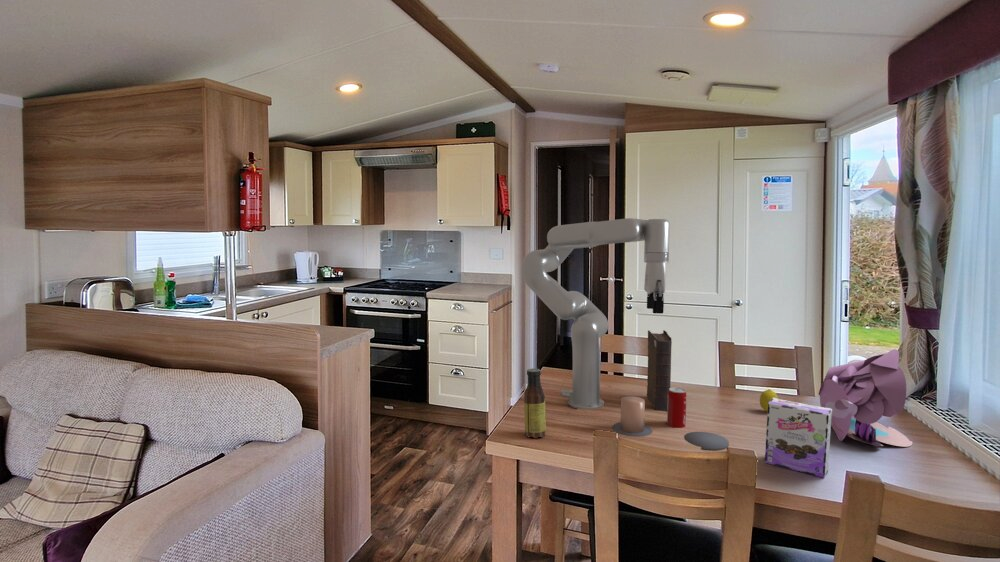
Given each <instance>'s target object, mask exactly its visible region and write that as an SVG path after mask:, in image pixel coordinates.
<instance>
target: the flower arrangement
mask: <svg viewBox="0 0 1000 562" xmlns="http://www.w3.org/2000/svg"><path fill="white" fill-rule="evenodd" d="M899 361H900V352H899V350H897V349H891V350H889V351H888V352H885V353H881V354H877V355H873V356H871V357H868V358H866V359H864V360H859V361H855V362H850V363H846V364H841V365H837V366H832V367H829V368H828V371H827V372H826V375H825V377H824V379H823V382H822V384H821V385H820V387H819V390H818V396H819V405H820V407H824V408H831V409H832V417H831V427H832V429H833V431H834V433H835V434H836V436H837V438H838V440H839V442H843V440H844V439H845V438H846V436H847V437H849V438H852V439H853V440H856V441H859V442H861V443H864V444H867V445H871V446H873V447H877V448H878V447H880V446H881V447H884V445H883V444H887V445H891V446H894V447H895V446H896V447H904V448H908V447H911V446H912V445H913V441H911V440H910V439H909V438H908V437H907V436H906V435H905V434H903V433H901V432H900V431H899V430H897V429H895V428H893V427H891V426H888V427H886V426H885V425H883V424H882V423H879V420H880V419H882V417H885V418H887V417H888V418H891V417H893V416H894V415H895V414H896V413H897V414H898V415H899V416H900V415H901V414H902V412H903V410H904V409H905V404H906V399H907V380H906V375H905V372H904V371H903V370H902V368H901V367H900V366H899ZM881 443H883V444H881Z"/></svg>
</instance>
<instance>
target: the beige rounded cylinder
mask: <svg viewBox="0 0 1000 562" xmlns="http://www.w3.org/2000/svg"><path fill="white" fill-rule="evenodd" d="M645 407H646V401H645V399H644V398H642V397H638V396H631V395H630V396H629V395H628V396H623V397H621V398H620V422H621V424H620V428H621V430H623V431H625V432H628V433H641V432H643V431H644V424H645V410H646V409H645Z"/></svg>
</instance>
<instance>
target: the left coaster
mask: <svg viewBox="0 0 1000 562" xmlns="http://www.w3.org/2000/svg"><path fill="white" fill-rule="evenodd" d="M620 424H621V421H618V422H616V423H614V424H613V425H612V427H611V428H612V431H614V432H615V431H616V432H615V433H617V434H619V435H622V436H627V437H637V438H639V437H647V436H649V435H651V434H652V433H653V432H654V431H653V428H652V427H651V426H649V425H647V424H645V423H644V431H643V432H641V433H628V432H625V431H623V430H621V428H620Z"/></svg>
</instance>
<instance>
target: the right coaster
mask: <svg viewBox="0 0 1000 562" xmlns="http://www.w3.org/2000/svg"><path fill="white" fill-rule="evenodd" d="M683 438H684V441H686V442H687V443H689V444H691V445H693V446H696V447H700V449H701V450H705V451H721V450H725V449H728V447H729V445H730V442H729V440H728V439H727V438H726V437H724V436H722V435H719V434H716V433H712V432H706V431H692V432H687V433H686V434H684V436H683Z"/></svg>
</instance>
